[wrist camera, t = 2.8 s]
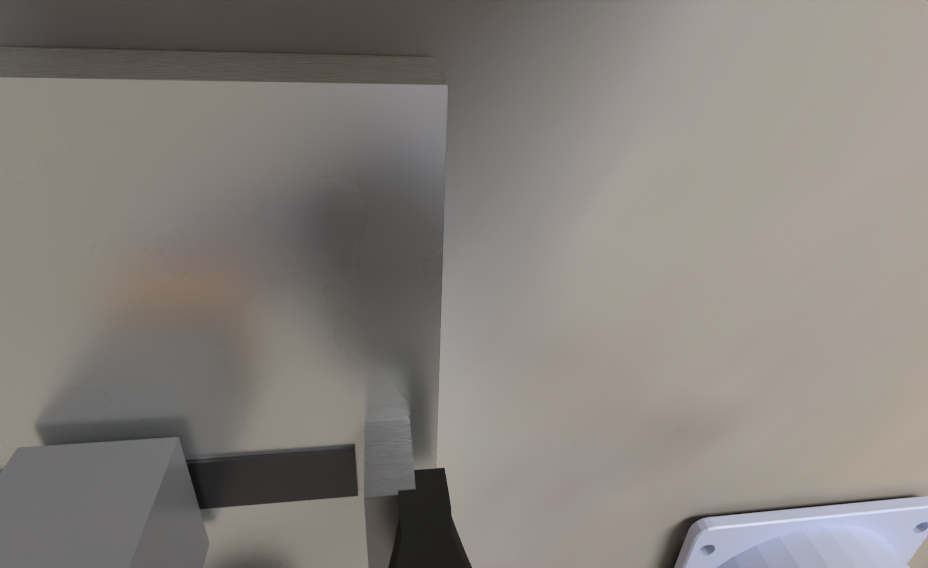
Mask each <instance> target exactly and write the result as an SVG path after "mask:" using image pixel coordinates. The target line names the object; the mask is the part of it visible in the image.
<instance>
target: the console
mask: <svg viewBox="0 0 928 568" xmlns="http://www.w3.org/2000/svg"><path fill="white" fill-rule="evenodd" d="M447 101H448V84H447V82H446V80H445V78H444V76H443V75H442V73H441V71H440V69H439V67H438V65H437V63H436V61H435V59H434V57H410V56H369V55H328V54H286V53H245V52H204V51H163V50H122V49H81V48H40V47H0V473H1V471H2V470H3V468H4V467H5V466H6V464H7V463H8V461H9V460H10V458H11V457H12V455H13V454H14V452H15V451H16V450H17V448H19V447H34V446H49V445H64V444H79V443H94V442H109V441H124V440H139V439H155V438H170V437H179V440H180V443H181V446H182V450H183V453H184V457H185V460H186V464H187V467H188V471H189V474H190V478H191V481H192V484H193V488H194V491H195V495H196V498H197V502H198V505H199V509H200V512H201V515H202V519H203V522H204V526H205V529H206V533H207V536H208V540H209V543H210V544H209V548H208V552H207V555H206V559H205V563H204V567H203V568H388V566H389V562H390V558H391V554H392V550H393V546H394V541H395V536H396V531H397V526H398V520H399V519H398V490H411V489H416V487H415V475H414V470H419V469H435V468H436V458H437V425H438V393H439V360H440V328H441V296H442V263H443V231H444V198H445V166H446V133H447Z"/></svg>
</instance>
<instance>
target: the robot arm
mask: <svg viewBox="0 0 928 568" xmlns="http://www.w3.org/2000/svg"><path fill="white" fill-rule="evenodd" d="M414 475H415V487H416V489H411V490H398V519H399V520H398V526H397V531H396V536H395V541H394V546H393V550H392V554H391V558H390V562H389V566H388V568H472V567H471V564H470V562H469V560H468V558H467V555H466V553H465V550H464V548H463V546H462V543H461V540H460V538H459V535H458V532H457V530H456V527H455V525H454V522H453V519H452V516H451V505H450V499H449V492H448V486H447V480H446V475H445V469H444V468H435V469H419V470H414ZM927 536H928V496H920V497H909V498H899V499H889V500H878V501H868V502H858V503H847V504H837V505H827V506H817V507H806V508H796V509H786V510H775V511H765V512H755V513H744V514H734V515H724V516H714V517H706V518H702V519H700V520H698V521H696V522H695V523H693V524H692V525H691V527H690V528H689V530H688V533H687V536H686V538H685V541H684V543H683V546H682V548H681V551H680V554H679V556H678V559H677V561H676V564H675V567H674V568H910V567H909V566H908V564H907V563H908V562H909V560H910V559H911V558H912V556H913V555H914V553H915V552H916V551H917V549H918V548H919V547H920V545H921V544H922V542H923V541H924V540H925V538H926V537H927Z"/></svg>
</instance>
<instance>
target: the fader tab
mask: <svg viewBox="0 0 928 568" xmlns="http://www.w3.org/2000/svg"><path fill="white" fill-rule="evenodd" d="M209 544H210V543H209V540H208V536H207V533H206V529H205V526H204V522H203V519H202V515H201V512H200V509H199V505H198V502H197V498H196V495H195V491H194V488H193V484H192V481H191V478H190V474H189V471H188V467H187V464H186V460H185V457H184V453H183V450H182V446H181V443H180V440H179V437H170V438H155V439H139V440H124V441H109V442H94V443H79V444H64V445H49V446H34V447H19V448H17V450H16V451H15V452H14V454H13V455H12V457H11V458H10V460H9V461H8V463H7V464H6V466H5V467H4V468H3V470H2V471H1V473H0V568H203V567H204V563H205V559H206V555H207V552H208V548H209Z"/></svg>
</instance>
